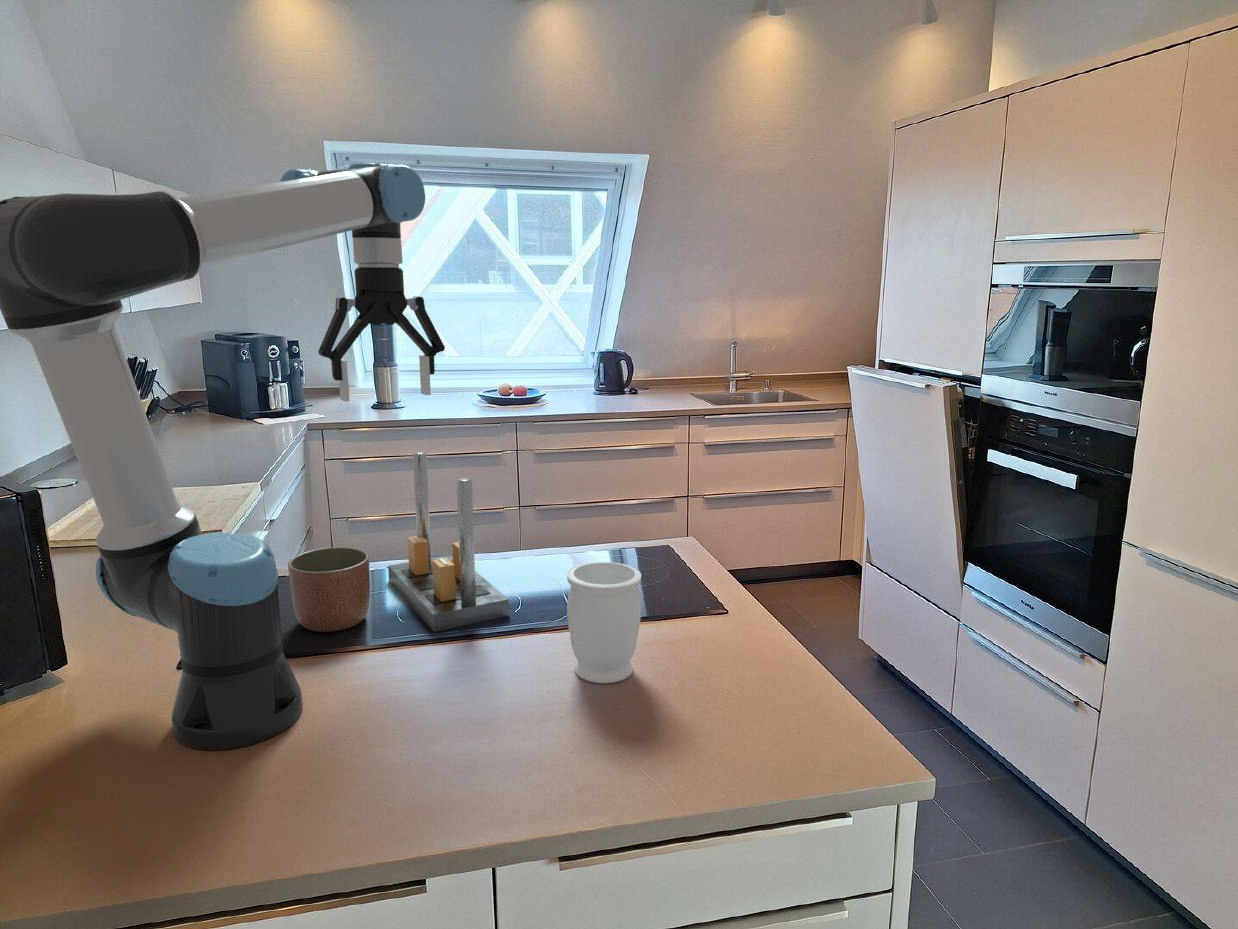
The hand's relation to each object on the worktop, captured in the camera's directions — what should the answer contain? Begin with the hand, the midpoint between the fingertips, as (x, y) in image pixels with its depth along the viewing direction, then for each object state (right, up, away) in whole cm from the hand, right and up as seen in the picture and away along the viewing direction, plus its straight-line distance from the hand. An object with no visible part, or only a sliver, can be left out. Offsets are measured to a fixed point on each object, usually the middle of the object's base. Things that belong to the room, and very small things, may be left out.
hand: (386, 397), depth 137 cm
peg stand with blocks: (+8, -35, +9) cm, 37 cm away
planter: (-8, -37, -2) cm, 38 cm away
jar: (+37, -41, -18) cm, 58 cm away
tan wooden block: (+2, -31, +13) cm, 33 cm away
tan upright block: (+11, -31, +10) cm, 35 cm away
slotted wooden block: (+10, -33, +1) cm, 35 cm away
